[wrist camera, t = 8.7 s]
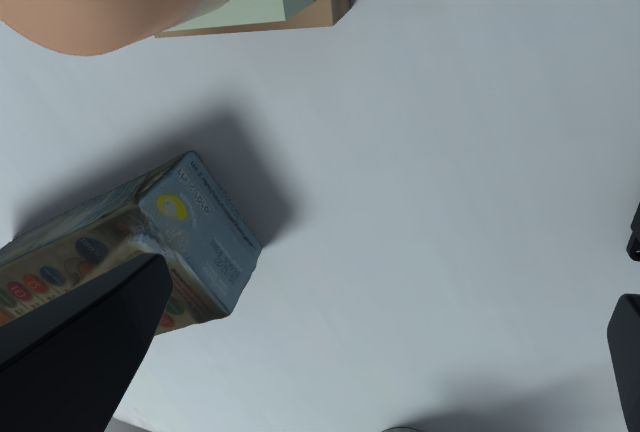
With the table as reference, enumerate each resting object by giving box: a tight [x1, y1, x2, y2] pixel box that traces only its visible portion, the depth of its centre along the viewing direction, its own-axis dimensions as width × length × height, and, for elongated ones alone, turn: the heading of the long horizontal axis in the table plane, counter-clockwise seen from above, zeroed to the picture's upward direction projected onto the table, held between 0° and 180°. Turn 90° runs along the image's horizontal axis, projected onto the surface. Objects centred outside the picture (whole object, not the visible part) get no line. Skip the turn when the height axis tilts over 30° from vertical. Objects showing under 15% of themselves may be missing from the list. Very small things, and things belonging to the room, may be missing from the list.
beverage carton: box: [0, 151, 262, 336], centre depth 27 cm, size 8×19×7 cm, turn 120°
